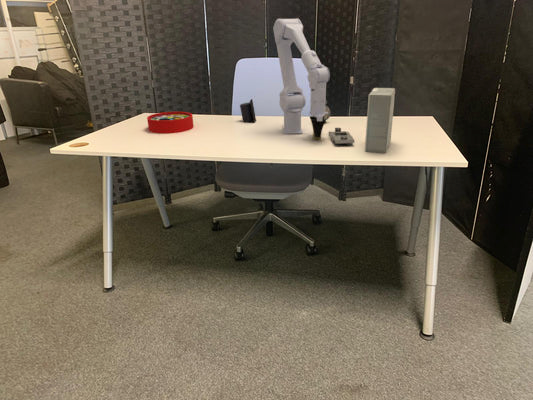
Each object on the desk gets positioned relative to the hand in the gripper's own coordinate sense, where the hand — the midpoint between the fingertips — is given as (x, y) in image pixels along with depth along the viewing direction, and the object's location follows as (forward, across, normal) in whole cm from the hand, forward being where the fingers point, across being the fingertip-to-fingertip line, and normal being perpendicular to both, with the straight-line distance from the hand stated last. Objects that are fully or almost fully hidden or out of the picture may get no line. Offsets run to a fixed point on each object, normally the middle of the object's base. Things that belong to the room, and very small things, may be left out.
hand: (317, 135), depth 155 cm
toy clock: (+2, +25, +64) cm, 68 cm away
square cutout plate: (+1, -2, -9) cm, 9 cm away
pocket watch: (+2, +29, -5) cm, 29 cm away
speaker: (+2, +35, +29) cm, 45 cm away
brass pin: (+1, 0, 0) cm, 1 cm away
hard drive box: (+2, -12, -21) cm, 24 cm away
